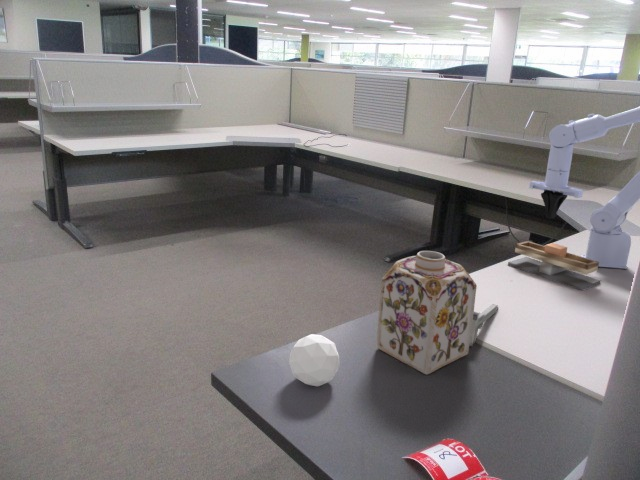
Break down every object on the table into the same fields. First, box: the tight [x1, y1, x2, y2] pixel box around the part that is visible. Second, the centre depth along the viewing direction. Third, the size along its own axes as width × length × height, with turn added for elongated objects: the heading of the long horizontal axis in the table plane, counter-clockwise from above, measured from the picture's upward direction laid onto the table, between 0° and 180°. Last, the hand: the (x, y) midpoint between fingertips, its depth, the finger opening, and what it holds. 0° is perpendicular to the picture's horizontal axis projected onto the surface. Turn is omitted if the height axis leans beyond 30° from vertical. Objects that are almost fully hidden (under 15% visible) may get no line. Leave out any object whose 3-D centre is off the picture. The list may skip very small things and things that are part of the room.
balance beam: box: [507, 240, 602, 291], centre depth 132 cm, size 20×8×6 cm, turn 36°
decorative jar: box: [376, 250, 477, 376], centre depth 90 cm, size 12×12×18 cm
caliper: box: [469, 303, 499, 347], centre depth 103 cm, size 20×1×6 cm, turn 149°
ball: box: [288, 333, 340, 387], centre depth 82 cm, size 8×8×8 cm
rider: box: [544, 242, 568, 257], centre depth 131 cm, size 4×3×2 cm
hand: (550, 218), depth 148 cm, fingers closed
